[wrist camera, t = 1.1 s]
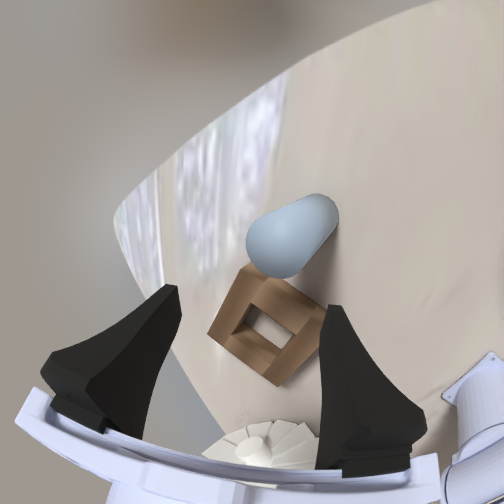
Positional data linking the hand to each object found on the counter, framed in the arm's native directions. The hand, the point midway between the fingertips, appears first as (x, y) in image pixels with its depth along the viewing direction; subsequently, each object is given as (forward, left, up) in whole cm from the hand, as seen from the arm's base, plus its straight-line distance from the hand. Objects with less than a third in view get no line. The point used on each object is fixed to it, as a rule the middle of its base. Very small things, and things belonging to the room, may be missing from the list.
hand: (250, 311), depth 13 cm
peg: (+1, -1, -15) cm, 15 cm away
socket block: (-1, +12, -15) cm, 19 cm away
